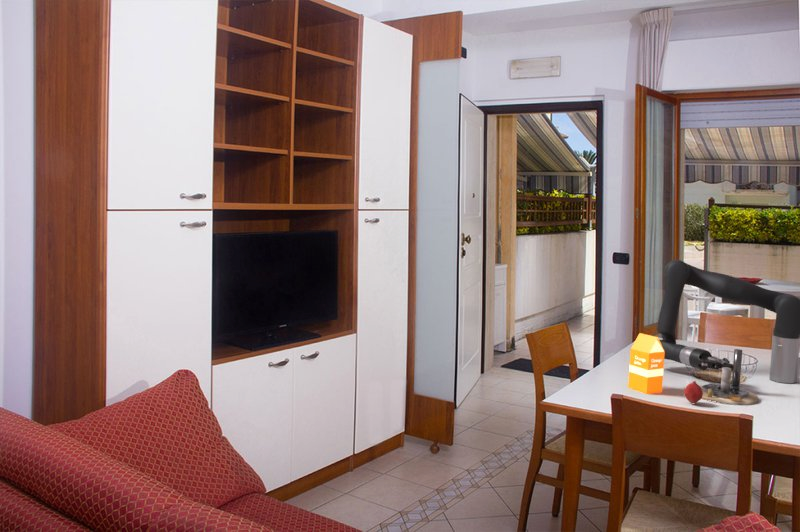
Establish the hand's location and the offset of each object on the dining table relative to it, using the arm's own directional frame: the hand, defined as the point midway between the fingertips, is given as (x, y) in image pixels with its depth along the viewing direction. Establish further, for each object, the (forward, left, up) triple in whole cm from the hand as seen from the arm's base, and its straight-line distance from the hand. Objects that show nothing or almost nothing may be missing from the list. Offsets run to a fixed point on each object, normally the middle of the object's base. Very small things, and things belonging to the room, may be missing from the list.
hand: (734, 368), depth 257 cm
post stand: (+6, +6, -9) cm, 12 cm away
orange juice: (+32, -2, -9) cm, 33 cm away
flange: (+6, +7, -7) cm, 12 cm away
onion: (+23, +15, -9) cm, 29 cm away
